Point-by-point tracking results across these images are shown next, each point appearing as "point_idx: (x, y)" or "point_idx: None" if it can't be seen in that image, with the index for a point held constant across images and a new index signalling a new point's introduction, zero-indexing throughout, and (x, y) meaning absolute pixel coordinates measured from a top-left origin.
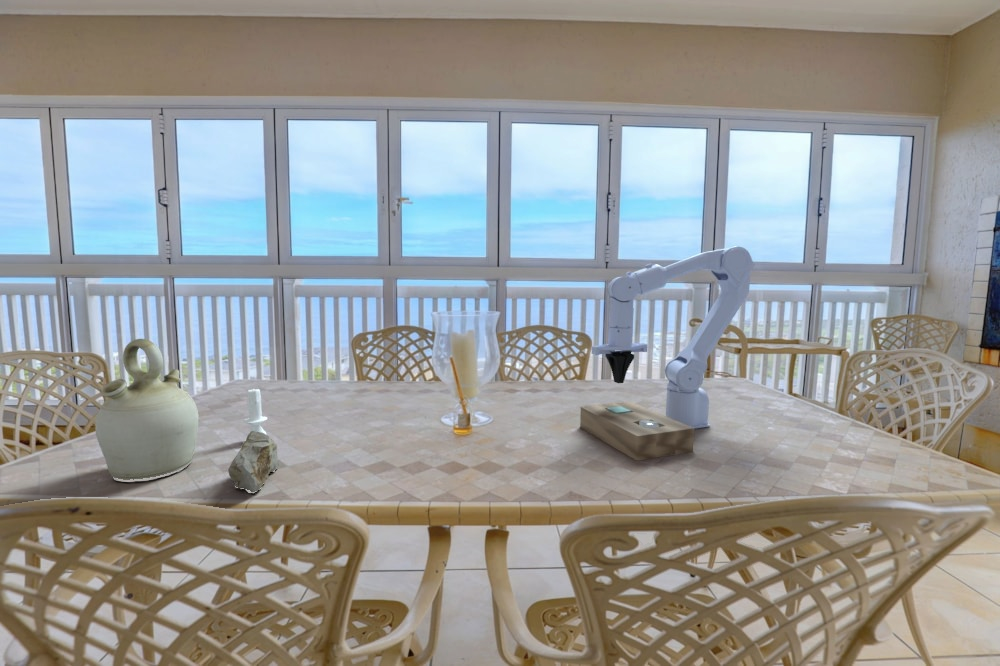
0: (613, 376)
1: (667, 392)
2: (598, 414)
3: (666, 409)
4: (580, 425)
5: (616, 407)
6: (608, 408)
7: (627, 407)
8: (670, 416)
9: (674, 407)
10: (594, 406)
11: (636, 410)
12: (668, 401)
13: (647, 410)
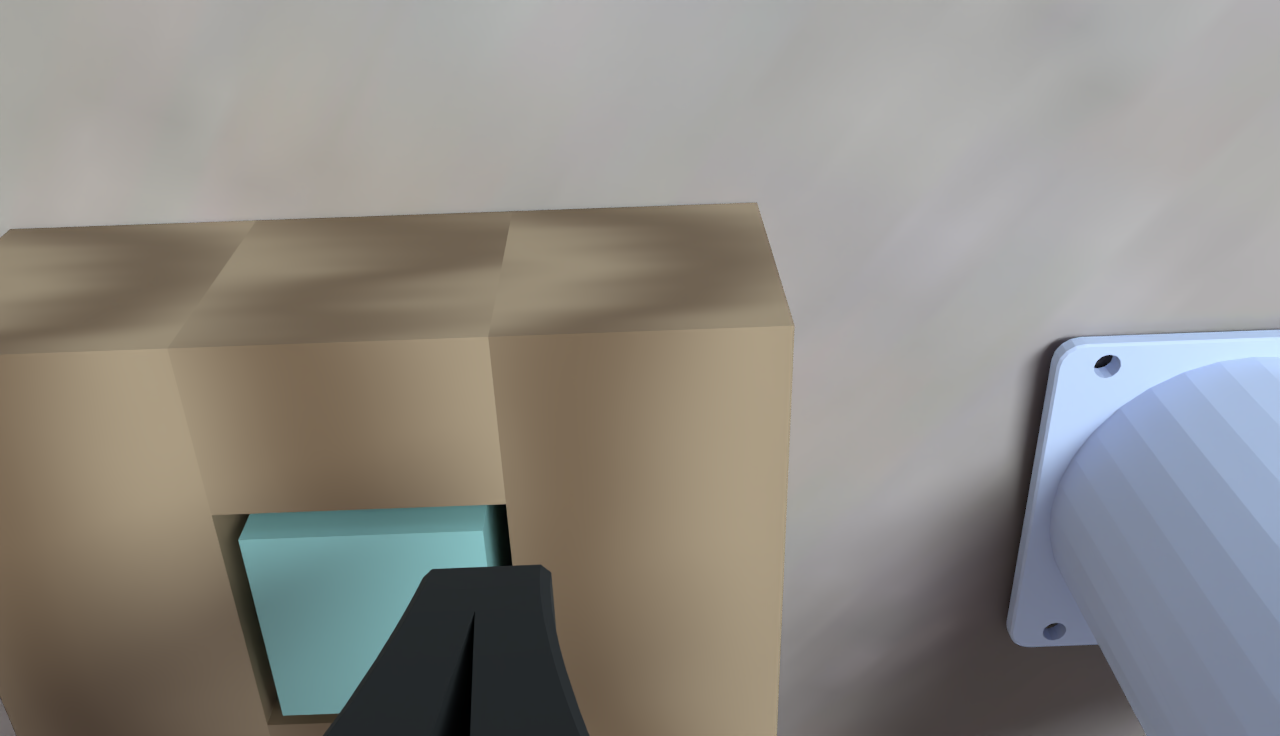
0: (391, 647)
1: (1246, 731)
2: (35, 693)
3: (1142, 540)
4: (2, 241)
5: (391, 552)
6: (253, 564)
7: (559, 563)
8: (1082, 581)
9: (1134, 707)
10: (94, 402)
11: (595, 685)
12: (1166, 670)
13: (727, 715)
